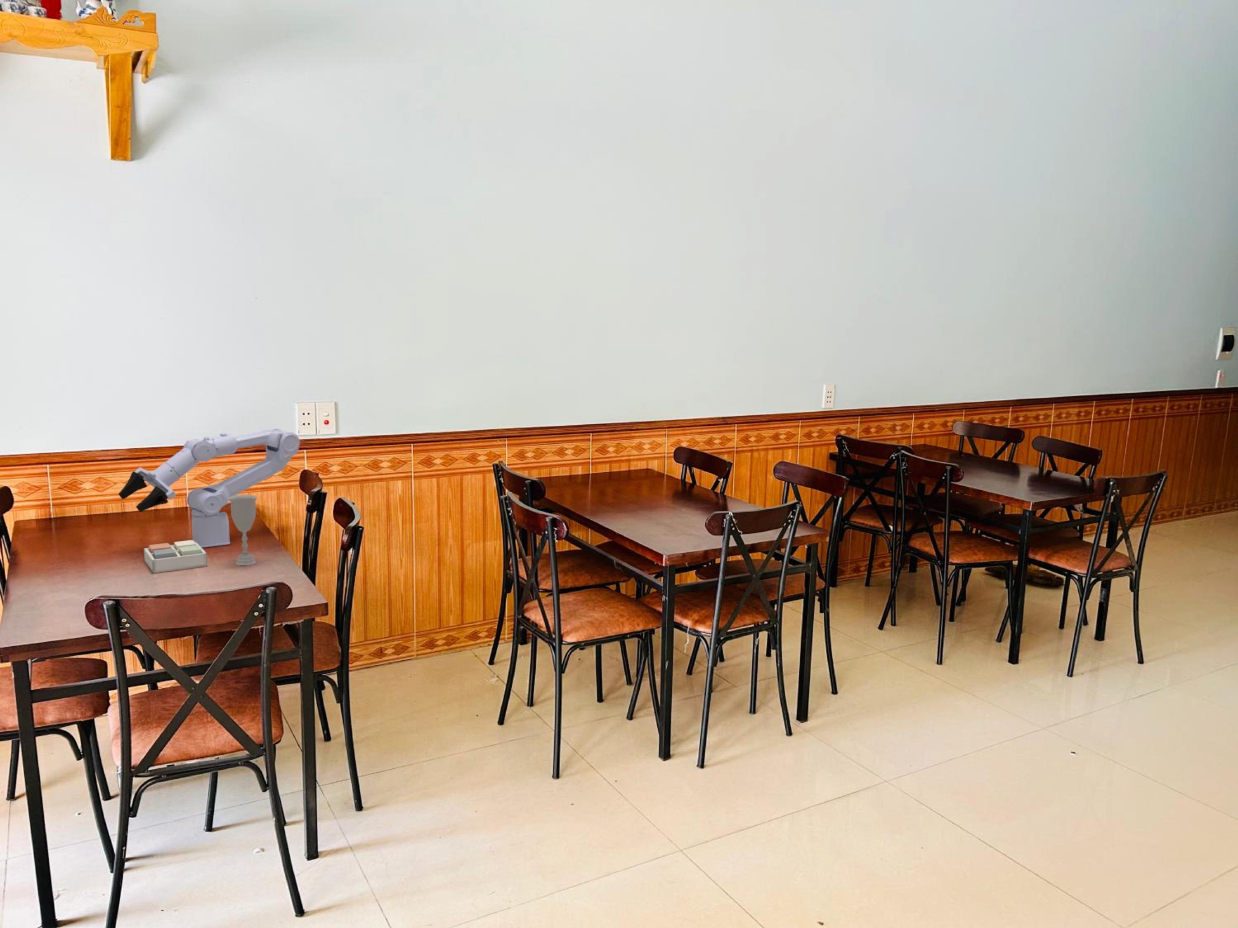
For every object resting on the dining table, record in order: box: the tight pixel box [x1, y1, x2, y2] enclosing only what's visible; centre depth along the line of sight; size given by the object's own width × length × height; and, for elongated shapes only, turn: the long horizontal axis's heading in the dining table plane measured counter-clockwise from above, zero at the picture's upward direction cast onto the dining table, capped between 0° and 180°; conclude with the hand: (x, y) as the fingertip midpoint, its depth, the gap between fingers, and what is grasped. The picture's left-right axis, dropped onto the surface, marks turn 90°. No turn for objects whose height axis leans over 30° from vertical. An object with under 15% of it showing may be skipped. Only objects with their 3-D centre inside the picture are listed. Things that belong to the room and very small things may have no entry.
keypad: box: [143, 542, 208, 574], centre depth 239 cm, size 13×13×4 cm
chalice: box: [229, 494, 258, 566], centre depth 240 cm, size 7×7×18 cm
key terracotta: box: [148, 542, 171, 553], centre depth 240 cm, size 5×5×2 cm
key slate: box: [153, 548, 176, 559], centre depth 235 cm, size 5×5×2 cm
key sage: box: [179, 545, 201, 556], centre depth 238 cm, size 5×5×2 cm
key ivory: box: [173, 539, 196, 550], centre depth 243 cm, size 5×5×2 cm
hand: (129, 503), depth 241 cm, fingers open, 7 cm apart
